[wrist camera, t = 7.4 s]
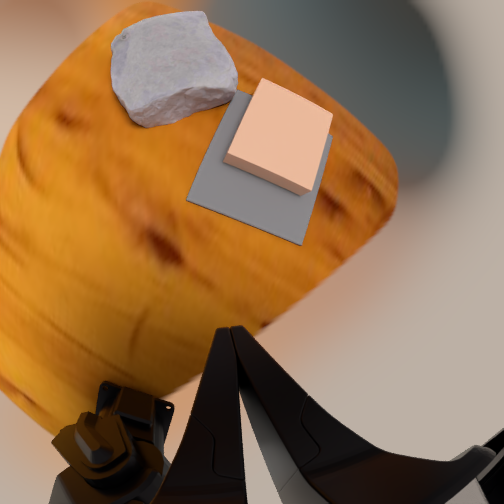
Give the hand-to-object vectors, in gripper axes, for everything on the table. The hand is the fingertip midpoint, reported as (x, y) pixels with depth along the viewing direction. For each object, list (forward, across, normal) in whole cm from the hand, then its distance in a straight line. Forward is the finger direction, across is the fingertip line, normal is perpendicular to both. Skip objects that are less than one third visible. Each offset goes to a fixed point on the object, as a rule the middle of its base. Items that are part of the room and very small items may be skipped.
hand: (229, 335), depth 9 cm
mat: (+16, -6, -2) cm, 17 cm away
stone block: (+21, +3, -10) cm, 24 cm away
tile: (+14, -5, -1) cm, 15 cm away
